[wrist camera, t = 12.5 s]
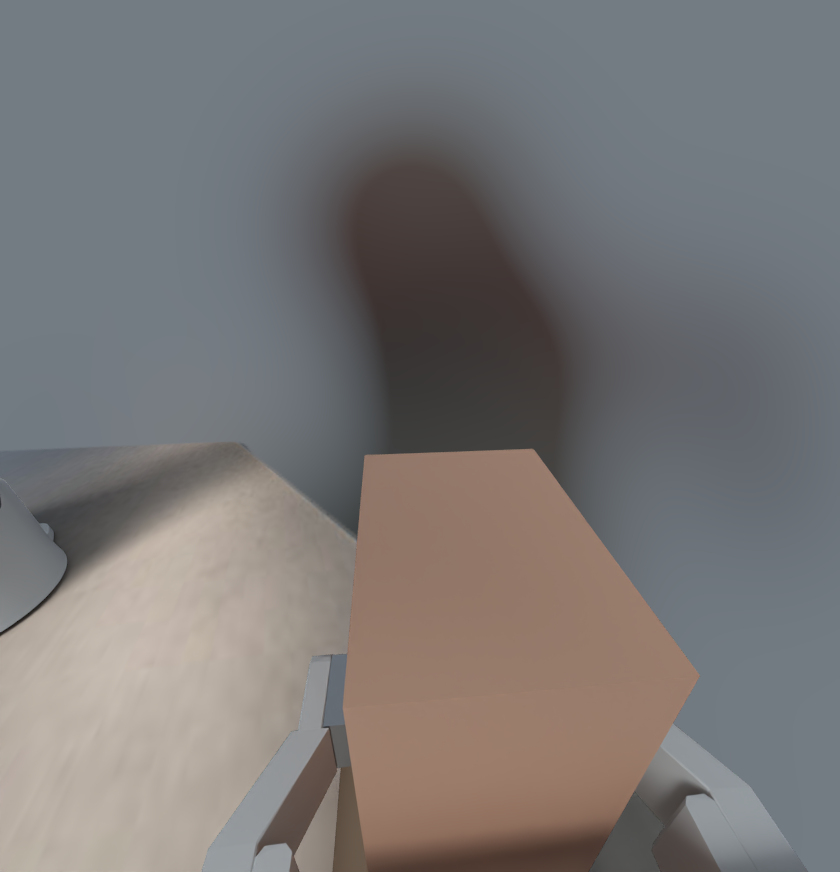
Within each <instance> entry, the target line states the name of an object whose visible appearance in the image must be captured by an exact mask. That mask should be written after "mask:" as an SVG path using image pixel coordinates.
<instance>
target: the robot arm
mask: <svg viewBox="0 0 840 872" xmlns="http://www.w3.org/2000/svg"><path fill="white" fill-rule="evenodd" d="M53 539H54V532H53V530H52V529H51V528H50V526H49V525H48V524H46V523H38V521H37V520H36V519H35V518H34V516H33V515H32V514H31V512H30V511H29V510H28V509H27V507H26V506H25V505H24V504H23V502H22V501H21V500H20V499H19V497H18V496H17V495H16V494H15V492H14V491H13V490H12V489H11V487H10V486H9V485H8V484H7V483H6V481H4V480H3V479H1V478H0V632H2V631H3V630H5V629H6V628H8V627H9V626H11V625H12V624H14V623H15V622H17V621H18V620H19V619H21V618H22V617H23V616H25V615H26V614H27V613H29V612H30V611H31V610H32V609H33V608H35V607H36V606H37V605H38V604H39V603H40V602H41V601H42V600H44V599H45V598H46V597H47V596H48V594H49V593H50V592H51V591H52V590H53V589H54V588H55V586H56V585H57V584H58V582H59V581H60V580H61V578H62V576H63V574H64V572H65V570H66V566H67V557H66V554H65V552H64V551H63V550H62V549H61V548H60V547H58V546H57V545H56V544H55V543H54V542H53ZM346 664H347V654H338V655H333V654H332V655H321V656H312V659H311V662H310V664H309V670H308V676H307V682H306V687H305V693H304V699H303V704H302V710H301V716H300V722H299V727H298V730H295V731H291V733H290V734H289V736H288V737H287V738H286V740H285V741H284V743H283V744H282V745H281V747H280V748H279V750H278V751H277V753H276V754H275V755H274V757H273V758H272V760H271V761H270V762H269V764H268V765H267V767H266V768H265V770H264V771H263V772H262V774H261V775H260V777H259V778H258V779H257V781H256V782H255V784H254V785H253V787H252V788H251V789H250V791H249V792H248V794H247V795H246V796H245V798H244V799H243V801H242V802H241V804H240V805H239V806H238V808H237V809H236V811H235V812H234V813H233V815H232V816H231V818H230V819H229V821H228V822H227V823H226V825H225V826H224V828H223V829H222V830H221V832H220V833H219V835H218V836H217V838H216V839H215V840H214V842H213V843H212V845H211V846H210V847H209V849H208V851H207V855H206V858H205V862H204V865H203V868H202V872H299V869H298V867H297V864H296V861H295V858H294V855H295V853H296V851H297V849H298V847H299V845H300V843H301V841H302V839H303V837H304V835H305V833H306V831H307V829H308V827H309V825H310V823H311V821H312V819H313V817H314V815H315V813H316V811H317V809H318V807H319V805H320V804H321V802H322V800H323V798H324V796H325V794H326V792H327V790H328V788H329V786H330V784H331V782H332V780H333V778H334V776H335V774H336V772H337V768H342V767H349V766H351V759H350V753H349V746H348V740H347V733H346V727H345V720H344V713H343V699H344V687H345V676H346ZM634 792H635V793H636V794H637V795H638V796H639V797H640V798H641V800H642V801H643V802H644V803H645V804H646V805H647V806H648V807H649V809H650V810H651V811H652V812H653V813H654V814H655V815H656V816H657V818H658V819H659V820H660V821H661V822H662V823H663V824H664V826H665V827H664V828H663V830H662V831H661V833H660V834H659V835H658V837H657V838H656V840H655V841H654V843H653V847H652V852H653V855H654V857H655V859H656V862H657V864H658V866H659V868H660V871H661V872H808V871H807V870H806V868H805V867H804V865H803V864H802V862H801V861H800V859H799V858H798V856H797V855H796V853H795V852H794V850H793V849H792V847H791V846H790V844H789V843H788V842H787V840H786V839H785V837H784V836H783V834H782V833H781V831H780V830H779V828H778V827H777V825H776V824H775V822H774V821H773V820H772V818H771V816H770V815H769V814H768V812H767V811H766V809H765V808H764V806H763V805H762V803H761V802H760V800H759V799H758V797H757V796H756V794H755V793H754V791H753V790H752V788H751V787H750V786H749V785H748V784H746V783H745V782H744V781H743V780H742V779H740V778H739V777H738V776H737V775H735V774H734V773H733V772H732V771H731V770H729V769H728V768H727V767H726V766H725V765H723V764H722V763H721V762H720V761H718V760H717V759H716V758H715V757H713V756H712V755H711V754H710V753H709V752H707V751H706V750H705V749H704V748H703V747H701V746H700V745H699V744H698V743H696V742H695V741H694V740H693V739H691V738H690V737H689V736H688V735H687V734H686V733H684V732H683V731H682V730H681V729H679V728H678V727H677V726H676V725H675V724H672V726H671V728H670V729H669V731H668V733H667V735H666V736H665V738H664V740H663V742H662V744H661V745H660V747H659V749H658V751H657V752H656V754H655V756H654V758H653V759H652V761H651V763H650V765H649V766H648V768H647V770H646V772H645V773H644V775H643V777H642V779H641V780H640V782H639V784H638V786H637V787H636V789H635V791H634Z"/></svg>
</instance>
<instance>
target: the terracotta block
mask: <svg viewBox="0 0 840 872" xmlns="http://www.w3.org/2000/svg"><path fill="white" fill-rule="evenodd" d="M699 677H700V675H699V674H698V672H697V671H696V670H695V668H694V667H693V665H692V664H691V663H690V661H689V660H688V659H687V657H686V656H685V654H684V653H683V652H682V650H681V649H680V648H679V646H678V645H677V644H676V642H675V641H674V640H673V638H672V637H671V635H670V634H669V633H668V632H667V630H666V629H665V627H664V626H663V625H662V623H661V622H660V620H659V619H658V618H657V616H656V615H655V614H654V612H653V611H652V610H651V608H650V607H649V606H648V604H647V603H646V602H645V600H644V599H643V597H642V596H641V595H640V594H639V592H638V591H637V589H636V588H635V586H634V585H633V584H632V583H631V581H630V580H629V578H628V577H627V576H626V574H625V573H624V572H623V570H622V569H621V568H620V566H619V565H618V563H617V562H616V561H615V559H614V558H613V557H612V555H611V554H610V553H609V551H608V550H607V549H606V547H605V546H604V544H603V543H602V542H601V540H600V539H599V538H598V536H597V535H596V534H595V532H594V531H593V529H592V528H591V527H590V525H589V524H588V523H587V522H586V520H585V518H584V517H583V516H582V514H581V513H580V512H579V510H578V509H577V508H576V506H575V505H574V504H573V502H572V501H571V499H570V498H569V497H568V495H567V494H566V493H565V491H564V490H563V489H562V487H561V486H560V485H559V483H558V482H557V480H556V479H555V478H554V476H553V475H552V474H551V472H550V471H549V470H548V468H547V467H546V465H545V464H544V463H543V461H542V460H541V459H540V457H539V456H538V455H537V453H536V452H535V451H534V449H519V450H491V451H464V452H439V453H438V452H437V453H412V454H386V455H385V454H384V455H365V457H364V470H363V481H362V492H361V505H360V515H359V527H358V538H357V549H356V561H355V572H354V584H353V595H352V607H351V618H350V630H349V641H348V653H347V664H346V676H345V687H344V699H343V713H344V720H345V727H346V733H347V740H348V746H349V753H350V759H351V766H352V773H353V779H354V786H355V792H356V799H357V806H358V812H359V819H360V825H361V832H362V839H363V845H364V852H365V858H366V865H367V871H368V872H589V870H590V868H591V866H592V865H593V863H594V861H595V859H596V858H597V856H598V854H599V852H600V851H601V849H602V847H603V845H604V844H605V842H606V840H607V838H608V837H609V835H610V833H611V831H612V830H613V828H614V826H615V824H616V823H617V821H618V819H619V817H620V816H621V814H622V812H623V810H624V808H625V807H626V805H627V803H628V801H629V800H630V798H631V796H632V794H633V793H634V791H635V789H636V787H637V786H638V784H639V782H640V780H641V779H642V777H643V775H644V773H645V772H646V770H647V768H648V766H649V765H650V763H651V761H652V759H653V758H654V756H655V754H656V752H657V751H658V749H659V747H660V745H661V744H662V742H663V740H664V738H665V736H666V735H667V733H668V731H669V729H670V728H671V726H672V724H673V722H674V721H675V719H676V717H677V715H678V714H679V712H680V710H681V708H682V707H683V705H684V703H685V701H686V700H687V697H688V696H689V694H690V693H691V691H692V689H693V687H694V685H695V684H696V682H697V680H698V679H699Z"/></svg>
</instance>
